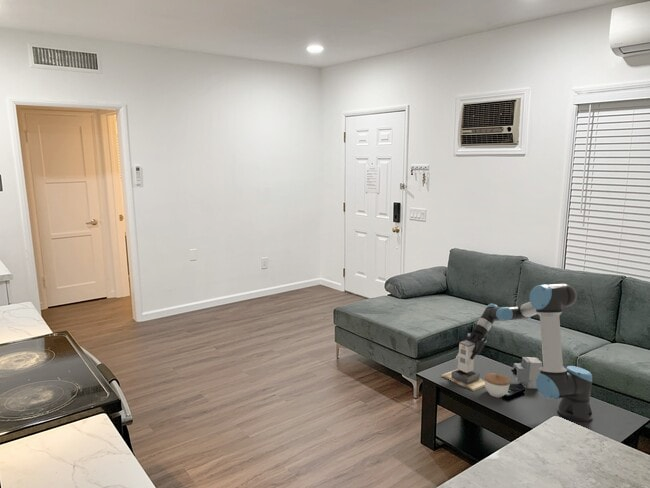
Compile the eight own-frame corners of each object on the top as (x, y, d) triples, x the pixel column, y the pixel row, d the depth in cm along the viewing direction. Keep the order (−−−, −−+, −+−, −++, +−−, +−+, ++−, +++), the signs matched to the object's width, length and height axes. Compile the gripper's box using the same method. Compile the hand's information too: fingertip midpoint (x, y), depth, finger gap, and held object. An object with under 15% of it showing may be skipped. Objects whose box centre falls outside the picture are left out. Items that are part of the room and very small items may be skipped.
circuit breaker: (509, 381, 265) (511, 356, 262) (534, 382, 264) (537, 357, 262) (513, 387, 257) (516, 361, 255) (540, 388, 257) (542, 362, 254)
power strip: (473, 370, 264) (475, 343, 261) (465, 373, 260) (467, 345, 258) (464, 366, 269) (466, 340, 266) (457, 369, 265) (459, 342, 263)
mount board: (489, 384, 260) (489, 382, 260) (473, 391, 252) (473, 389, 252) (457, 370, 278) (457, 369, 278) (441, 376, 270) (441, 374, 270)
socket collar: (479, 379, 264) (479, 373, 263) (467, 384, 257) (467, 378, 257) (463, 372, 272) (464, 367, 272) (451, 377, 266) (451, 371, 266)
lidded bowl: (514, 398, 245) (515, 378, 244) (493, 401, 241) (495, 381, 240) (498, 387, 257) (499, 368, 255) (478, 390, 253) (480, 371, 252)
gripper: (499, 336, 263) (478, 370, 256) (471, 326, 278) (451, 358, 271) (494, 329, 259) (473, 363, 252) (465, 319, 274) (445, 352, 267)
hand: (461, 361), depth 262 cm, fingers closed on power strip, 6 cm apart
